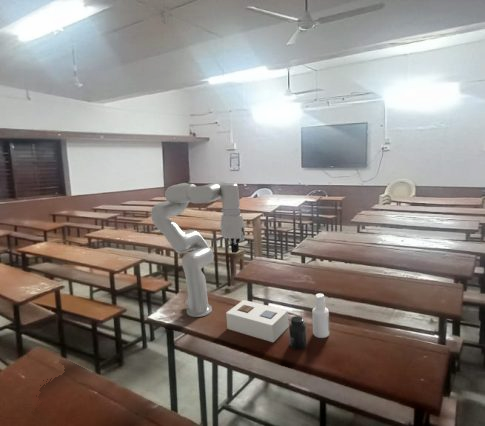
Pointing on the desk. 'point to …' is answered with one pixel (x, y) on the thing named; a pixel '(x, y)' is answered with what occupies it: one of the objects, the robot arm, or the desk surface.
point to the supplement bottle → (297, 333)
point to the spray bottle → (320, 317)
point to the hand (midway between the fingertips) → (235, 251)
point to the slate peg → (268, 314)
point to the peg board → (258, 321)
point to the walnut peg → (245, 308)
